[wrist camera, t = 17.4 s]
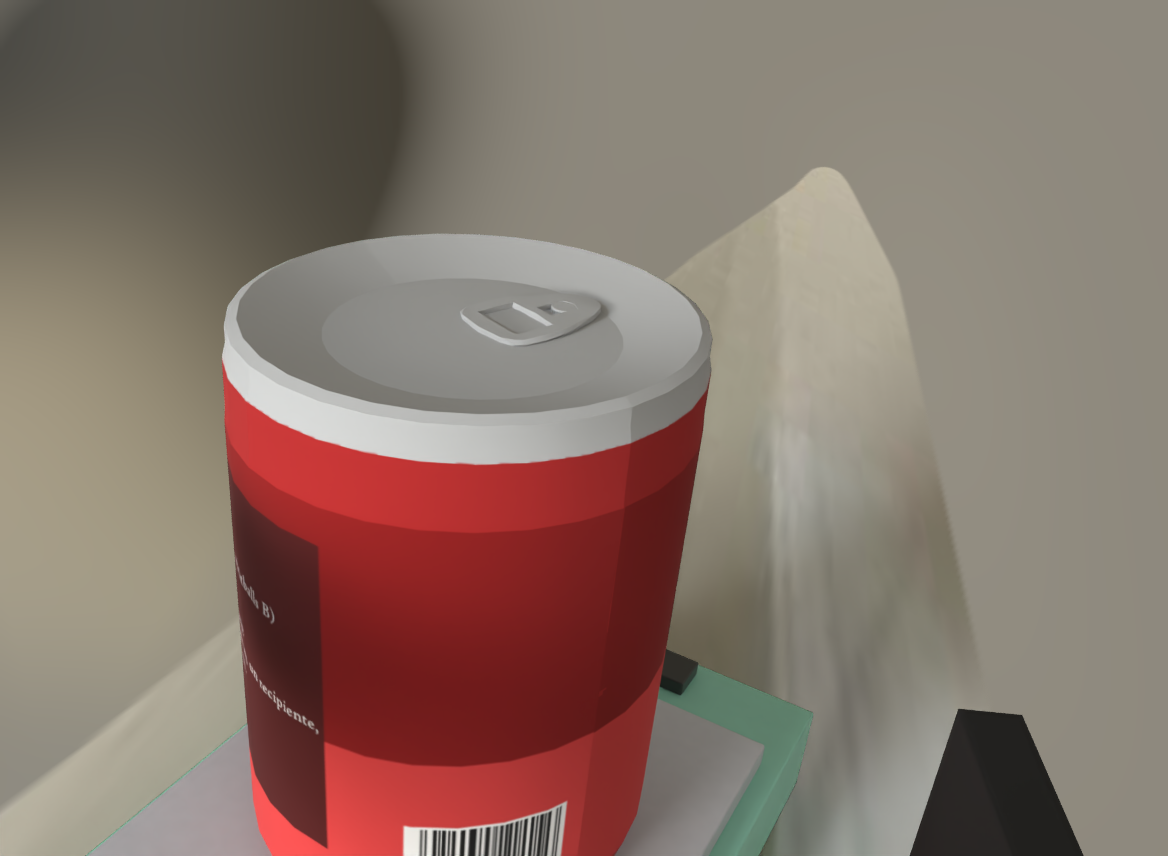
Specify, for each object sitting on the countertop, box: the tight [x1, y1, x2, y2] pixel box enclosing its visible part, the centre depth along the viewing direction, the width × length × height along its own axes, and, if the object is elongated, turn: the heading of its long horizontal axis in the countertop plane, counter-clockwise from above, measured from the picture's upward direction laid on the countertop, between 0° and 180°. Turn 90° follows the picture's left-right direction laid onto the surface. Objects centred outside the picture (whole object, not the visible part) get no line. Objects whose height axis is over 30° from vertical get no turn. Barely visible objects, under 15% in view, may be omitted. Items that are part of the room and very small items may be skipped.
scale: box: [86, 649, 813, 856], centre depth 24 cm, size 11×14×3 cm
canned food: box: [222, 234, 712, 856], centre depth 21 cm, size 8×8×11 cm
